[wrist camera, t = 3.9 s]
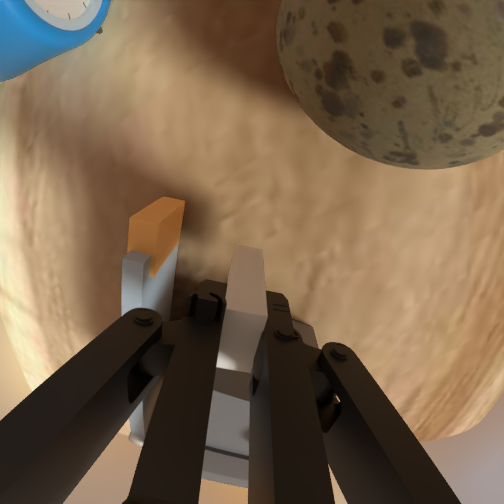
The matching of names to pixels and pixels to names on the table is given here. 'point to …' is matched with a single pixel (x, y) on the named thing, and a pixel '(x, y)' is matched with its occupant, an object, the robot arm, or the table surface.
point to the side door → (151, 280)
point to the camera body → (234, 422)
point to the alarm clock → (44, 30)
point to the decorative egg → (399, 76)
